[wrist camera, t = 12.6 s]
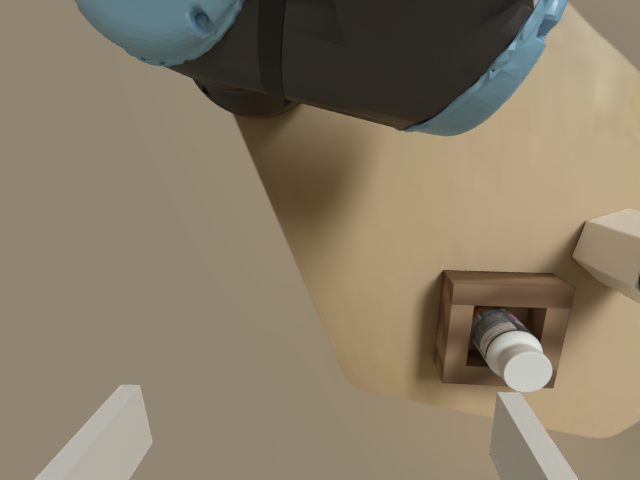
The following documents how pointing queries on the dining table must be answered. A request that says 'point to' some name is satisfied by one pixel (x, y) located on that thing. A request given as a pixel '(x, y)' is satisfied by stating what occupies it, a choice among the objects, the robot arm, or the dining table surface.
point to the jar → (612, 251)
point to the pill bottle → (510, 349)
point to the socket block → (515, 295)
